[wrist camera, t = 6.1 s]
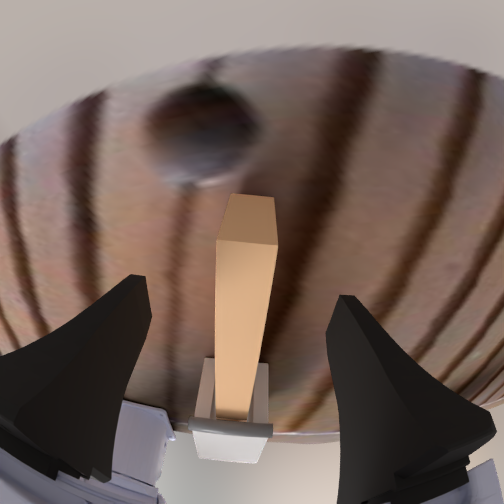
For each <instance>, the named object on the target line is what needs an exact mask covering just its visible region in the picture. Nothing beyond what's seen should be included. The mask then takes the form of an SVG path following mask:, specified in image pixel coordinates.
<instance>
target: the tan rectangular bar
mask: <svg viewBox="0 0 504 504" xmlns="http://www.w3.org/2000/svg"><path fill="white" fill-rule="evenodd" d="M277 251H278V236H277V225H276V215H275V204H274V197H265V196H255V195H245V194H234V193H231V195H230V198H229V201H228V204H227V208H226V211H225V214H224V217H223V221H222V224H221V227H220V230H219V234H218V237H217V247H216V286H215V402H216V417H217V418H227V419H237V420H247V417H248V412H249V407H250V402H251V397H252V392H253V386H254V381H255V376H256V371H257V366H258V360H259V355H260V349H261V344H262V339H263V333H264V327H265V322H266V316H267V310H268V305H269V299H270V293H271V287H272V281H273V275H274V269H275V263H276V257H277Z"/></svg>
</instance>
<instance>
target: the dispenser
mask: <svg viewBox="0 0 504 504" xmlns="http://www.w3.org/2000/svg"><path fill="white" fill-rule="evenodd" d="M188 430H191V431H192V433H193V436H194V441H195V445H196V449H197V453H198V456H199V458H203V459H210V460H219V461H230V462H241V463H257V461H258V459H259V457H260V455H261V452H262V450H263V448H264V446H265V443H266V441H267V439H268V438H272V435H273V424H268V363H258V366H257V371H256V376H255V381H254V386H253V392H252V397H251V402H250V407H249V412H248V417H247V422H237V421H226V420H217V419H216V402H215V359H214V358H206V357H205V360H204V365H203V370H202V376H201V381H200V386H199V392H198V398H197V403H196V409H195V414H194V416H190V417H189V421H188Z"/></svg>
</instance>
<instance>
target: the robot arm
mask: <svg viewBox="0 0 504 504" xmlns="http://www.w3.org/2000/svg"><path fill="white" fill-rule="evenodd" d="M151 318H152V313H151V308H150V302H149V296H148V290H147V284H146V277H145V276H140V275H133V274H131V275H129V276H128V277H126V278H125V279H124V280H122V281H121V282H120V283H119V284H117V285H116V286H115V287H114V288H112V289H111V290H110V291H109V292H107V293H106V294H105V295H103V296H102V297H101V298H100V299H98V300H97V301H96V302H95V303H93V304H92V305H91V306H89V307H88V308H87V309H85V310H84V311H83V312H81V313H80V314H78V315H77V316H76V317H74V318H73V319H72V320H70V321H69V322H67V323H66V324H64V325H63V326H61V327H59V328H58V329H56V330H55V331H53V332H51V333H50V334H48V335H46V336H44V337H42V338H40V339H38V340H37V341H35V342H33V343H31V344H29V345H27V346H25V347H23V348H20V349H18V350H16V351H13V352H11V353H8V354H6V355H3V356H0V504H166V501H165V499H164V498H163V496H162V494H160V493H158V488H155V483H156V481H157V480H158V479H159V478H160V476H161V472H162V467H163V462H164V457H165V452H166V447H167V442H168V440H176V437H175V434H174V432H173V429H172V427H171V424H170V421H169V419H168V416H167V413H166V411H165V410H163V409H160V408H155V407H150V406H146V405H142V404H137V403H133V402H129V401H125V400H123V397H124V393H125V390H126V387H127V384H128V382H129V379H130V377H131V374H132V372H133V369H134V367H135V364H136V362H137V359H138V357H139V354H140V352H141V349H142V347H143V345H144V342H145V340H146V336H147V333H148V329H149V326H150V322H151ZM326 343H327V355H328V360H329V365H330V370H331V375H332V380H333V384H334V389H335V394H336V399H337V404H338V411H339V424H340V450H341V451H340V452H341V453H340V479H339V489H338V498H337V504H504V503H503V498H502V493H501V488H500V484H499V480H498V476H497V472H496V468H495V464H494V461H493V459H489V460H488V461H486V462H484V463H482V464H480V465H478V466H476V467H474V468H472V469H471V470H469V471H467V470H466V465H468V464H469V463H470V460H469V455H470V454H472V453H473V452H474V451H476V450H477V449H479V448H480V447H481V446H483V445H484V444H486V443H487V442H488V441H489V440H491V439H492V438H493V437H494V436H495V434H496V432H497V430H496V428H495V425H494V422H493V419H492V416H491V414H490V412H489V411H487V410H485V409H483V408H481V407H479V406H477V405H475V404H473V403H471V402H469V401H468V400H466V399H464V398H463V397H461V396H459V395H458V394H456V393H455V392H453V391H452V390H450V389H449V388H447V387H446V386H444V385H443V384H442V383H440V382H439V381H438V380H436V379H435V378H434V377H432V376H431V375H430V374H429V373H428V372H426V371H425V370H424V369H423V368H422V367H421V366H420V365H418V364H417V363H416V362H415V361H414V360H413V359H412V358H411V357H410V356H409V355H408V354H407V353H406V352H405V351H404V350H403V349H402V348H401V347H400V346H399V345H398V344H397V343H396V342H395V341H394V340H393V339H392V338H391V337H390V336H389V334H388V333H387V332H386V331H385V330H384V329H383V328H382V327H381V325H380V324H379V323H378V322H377V321H376V320H375V318H374V317H373V316H372V315H371V314H370V313H369V311H368V310H367V309H366V308H365V307H364V306H363V305H362V303H361V302H360V301H359V300H358V299H357V298H356V297H355V296H352V295H339V298H338V301H337V303H336V306H335V309H334V312H333V315H332V317H331V320H330V323H329V325H328V328H327V331H326Z"/></svg>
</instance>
